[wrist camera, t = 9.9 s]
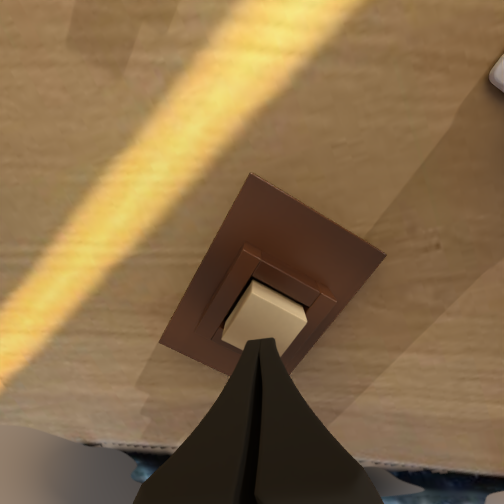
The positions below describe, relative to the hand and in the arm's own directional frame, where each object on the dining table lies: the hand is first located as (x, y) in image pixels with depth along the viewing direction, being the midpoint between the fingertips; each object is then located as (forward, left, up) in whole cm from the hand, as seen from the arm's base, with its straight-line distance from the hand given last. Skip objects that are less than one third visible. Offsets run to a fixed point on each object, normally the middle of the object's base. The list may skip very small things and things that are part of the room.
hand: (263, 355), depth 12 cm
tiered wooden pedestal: (0, 0, -7) cm, 7 cm away
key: (0, 0, -4) cm, 4 cm away
